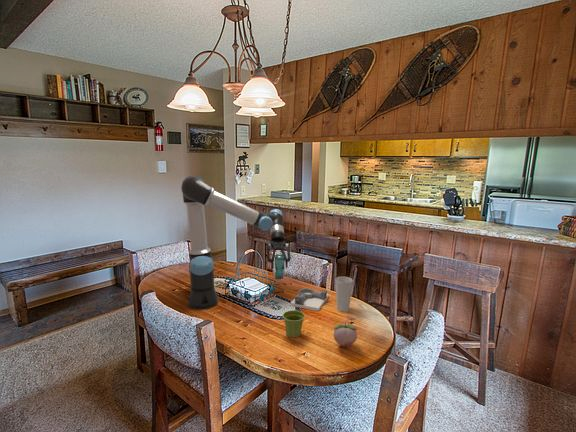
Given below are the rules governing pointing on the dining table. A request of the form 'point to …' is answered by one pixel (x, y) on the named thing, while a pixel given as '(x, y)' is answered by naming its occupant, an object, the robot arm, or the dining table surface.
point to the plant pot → (293, 322)
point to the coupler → (279, 266)
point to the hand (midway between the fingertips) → (279, 273)
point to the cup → (343, 292)
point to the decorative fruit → (345, 334)
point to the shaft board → (310, 299)
